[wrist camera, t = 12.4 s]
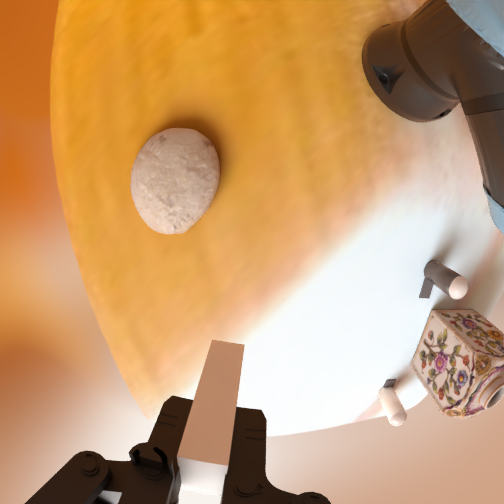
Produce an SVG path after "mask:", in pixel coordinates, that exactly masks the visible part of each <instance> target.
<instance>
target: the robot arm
mask: <svg viewBox="0 0 504 504" xmlns="http://www.w3.org/2000/svg"><path fill="white" fill-rule="evenodd" d="M362 64H363V69H364V72H365V75H366V78H367V80H368V82H369V84H370V86H371V87H372V89H373V91H374V92H375V93H376V95H377V96H378V97H379V99H380V100H381V101H382V102H383V103H384V104H385V105H386V106H387V107H388V108H390V109H391V110H392V111H394V112H395V113H396V114H398V115H400V116H402V117H404V118H406V119H408V120H411V121H415V122H430V121H434V120H438V119H441V118H443V117H445V116H446V115H448V114H449V113H450V112H451V111H452V110H453V109H454V108H455V107H456V106H457V105H458V104H459V103H461V105H462V108H463V111H464V113H465V117H466V120H467V122H468V125H469V128H470V131H471V135H472V138H473V141H474V144H475V148H476V152H477V155H478V159H479V164H480V168H481V172H482V177H483V188H484V191H485V194H486V195H487V199H488V203H489V209H490V214H491V217H492V220H493V222H494V224H495V225H496V226H497V228H498V229H500V231H501V232H502V233H503V234H504V0H427V1H426V2H425V3H424V4H423V5H422V6H421V7H419V8H418V9H417V10H416V11H415V12H414V13H413V14H412V15H411V16H410V17H409V18H408V19H406V20H403V21H399V22H396V23H392V24H387V25H384V26H382V27H380V28H378V29H377V30H375V31H374V32H373V33H372V34H371V36H370V37H369V38H368V39H367V41H366V42H365V44H364V47H363V51H362ZM243 352H244V345H242V344H235V343H229V342H223V341H217V340H212V342H211V346H210V349H209V352H208V355H207V358H206V362H205V365H204V368H203V371H202V375H201V378H200V381H199V384H198V388H197V391H196V394H195V397H194V400H190V399H186V398H181V397H177V396H171V397H170V398H169V399H168V400H167V401H165V402H164V404H163V406H162V408H161V411H160V414H159V416H158V418H157V421H156V423H155V426H154V428H153V431H152V433H151V435H150V438H149V440H148V442H146V443H140V444H138V445H136V446H134V447H133V448H132V449H131V450H130V452H129V455H130V458H131V461H112V460H105V459H104V458H103V457H102V456H101V455H100V454H98V453H96V452H93V451H83V452H79V453H78V454H76V455H74V456H73V457H72V458H71V459H70V460H69V461H68V462H67V464H65V465H64V466H63V467H62V468H61V469H60V470H59V471H58V472H57V473H56V474H55V475H54V476H53V477H52V478H51V479H50V480H49V481H48V482H47V483H46V484H45V485H44V486H43V487H42V488H40V489H39V490H38V491H37V492H36V493H35V494H34V495H33V496H32V497H31V498H30V499H29V500H28V501H27V502H26V503H25V504H178V495H179V491H180V487H181V489H183V490H188V491H193V492H198V493H203V494H209V495H216V496H222V497H221V504H331V503H330V501H329V500H328V499H327V498H326V497H325V496H323V495H322V494H319V493H315V492H305V493H302V494H300V495H296V494H292V493H289V492H285V491H282V490H280V489H278V488H276V487H274V486H273V485H272V484H271V483H270V482H269V481H268V479H267V477H266V472H265V464H266V418H265V416H264V414H263V412H262V410H258V409H249V408H241V407H236V405H237V397H238V390H239V382H240V375H241V367H242V360H243Z"/></svg>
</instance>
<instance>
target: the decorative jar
mask: <svg viewBox="0 0 504 504" xmlns="http://www.w3.org/2000/svg"><path fill="white" fill-rule="evenodd" d="M411 367H412V369H413V370H414V372H415V374H416V375H417V377H418V378H419V380H420V381H421V383H422V384H423V386H424V387H425V389H426V390H427V392H428V393H429V395H430V396H431V397H432V399H433V401H434V402H435V404H436V405H437V407H438V408H439V410H440V411H441V412H442V414H445V415H449V416H451V417H456V418H460V419H466V418H469V417H473V416H475V415H477V414H479V413H481V412H482V411H483V410H485V409H490V408H492V407H493V406H494V405H496V404H497V403H498V402H499V400H501V398H502V397H503V396H504V334H503V333H502V332H501V331H500V330H499V329H498V328H496V327H495V326H494V325H493V324H492V323H490V322H489V321H488V320H487V319H485V318H484V317H483V316H482V315H480V314H479V313H478V312H476V311H474V310H431V313H430V316H429V319H428V321H427V324H426V326H425V329H424V332H423V334H422V337H421V340H420V342H419V345H418V347H417V350H416V352H415V355H414V357H413V359H412V362H411Z"/></svg>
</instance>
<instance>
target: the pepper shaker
mask: <svg viewBox="0 0 504 504" xmlns="http://www.w3.org/2000/svg"><path fill="white" fill-rule="evenodd" d="M424 276H425V277H426V279H427V280H429V281H430V282H432V283H433V284H434V285H436V286H437V287H438V288H440V289H441V290H442V291H444V292H445V293H446V294H448V295H449V296H450V297H452V298H453V299H461V298H463V297H464V296H465V295H466V293H467V291H468V283H467V280H466V279H465V278H464V277H463V276H461V275H459V274H458V273H456V272H455V271H453V270H451V269H450V268H448V267H446V266H445V265H443V264H441V263H440V262H438V261H436V260H432V261H430V262H429V263H428V264H427V265H426V267H425V269H424Z"/></svg>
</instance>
